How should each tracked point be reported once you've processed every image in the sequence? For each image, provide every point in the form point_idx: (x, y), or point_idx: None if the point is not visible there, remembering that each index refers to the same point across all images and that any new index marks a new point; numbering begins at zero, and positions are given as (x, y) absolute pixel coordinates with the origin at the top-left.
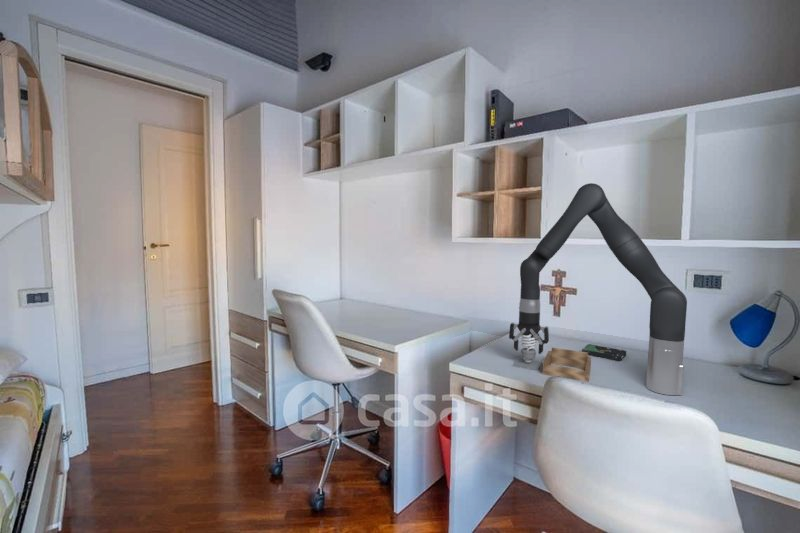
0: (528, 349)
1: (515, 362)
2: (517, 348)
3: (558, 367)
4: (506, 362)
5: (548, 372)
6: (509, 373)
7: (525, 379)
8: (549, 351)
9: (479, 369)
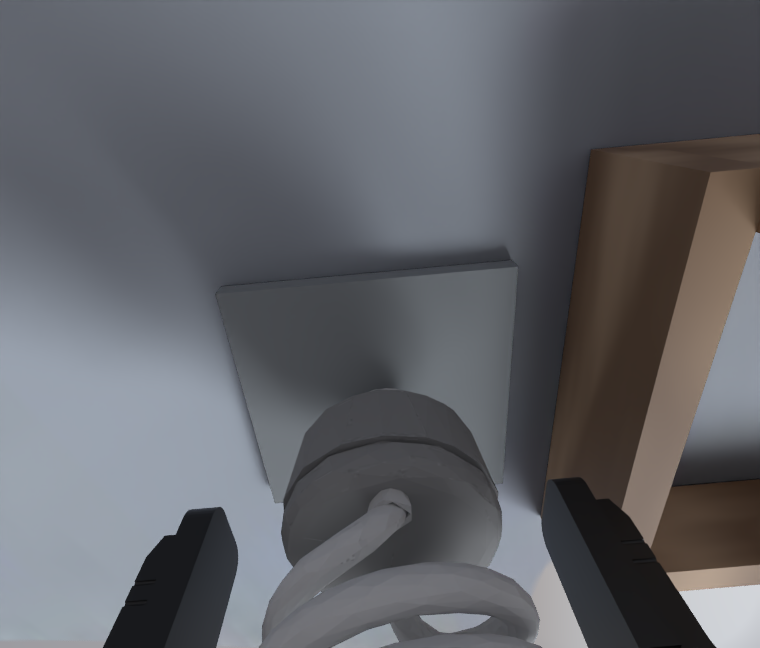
0: (417, 637)
1: (263, 442)
2: (225, 574)
3: (717, 582)
4: (173, 435)
5: None
6: None
7: (443, 629)
8: (721, 215)
9: None
